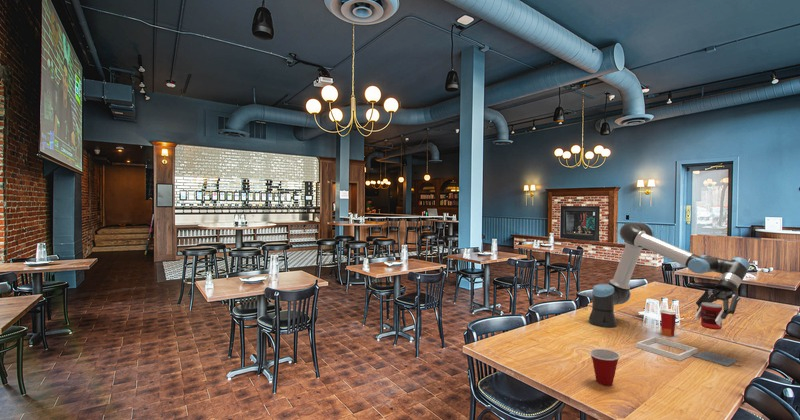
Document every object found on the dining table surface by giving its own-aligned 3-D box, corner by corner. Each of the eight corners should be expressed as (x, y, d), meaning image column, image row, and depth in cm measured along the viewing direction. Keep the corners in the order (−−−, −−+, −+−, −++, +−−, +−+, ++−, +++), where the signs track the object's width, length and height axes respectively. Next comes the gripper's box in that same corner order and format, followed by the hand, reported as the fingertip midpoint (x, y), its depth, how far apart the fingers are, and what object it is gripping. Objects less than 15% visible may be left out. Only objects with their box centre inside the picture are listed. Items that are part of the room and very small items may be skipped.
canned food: (717, 325, 181) (717, 303, 181) (725, 330, 174) (725, 307, 174) (698, 324, 184) (698, 301, 184) (705, 328, 176) (705, 305, 176)
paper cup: (670, 332, 215) (671, 308, 215) (679, 337, 208) (680, 312, 208) (656, 332, 216) (657, 308, 216) (664, 336, 209) (665, 311, 209)
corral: (636, 347, 191) (636, 342, 191) (654, 341, 201) (654, 336, 201) (679, 360, 175) (679, 355, 175) (697, 353, 185) (697, 348, 185)
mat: (693, 356, 180) (693, 355, 180) (704, 351, 187) (704, 350, 187) (727, 366, 169) (727, 365, 169) (738, 360, 176) (738, 359, 176)
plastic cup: (583, 376, 156) (583, 348, 156) (607, 376, 157) (608, 347, 157) (599, 389, 145) (599, 358, 145) (625, 388, 146) (626, 358, 146)
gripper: (757, 293, 175) (736, 332, 169) (707, 285, 194) (687, 319, 188) (751, 283, 173) (729, 321, 167) (701, 275, 192) (680, 309, 186)
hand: (706, 320), depth 177 cm, fingers closed on canned food, 8 cm apart
